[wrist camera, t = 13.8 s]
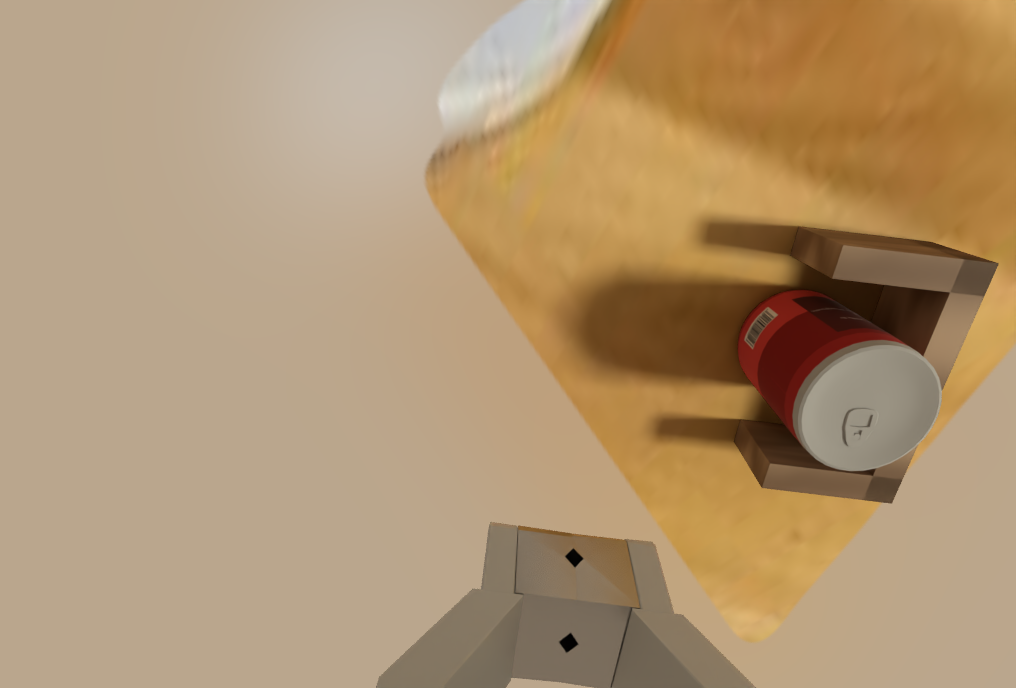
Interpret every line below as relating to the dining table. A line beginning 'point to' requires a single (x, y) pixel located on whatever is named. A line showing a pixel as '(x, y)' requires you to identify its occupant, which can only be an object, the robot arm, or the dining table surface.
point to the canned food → (838, 380)
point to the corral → (900, 312)
